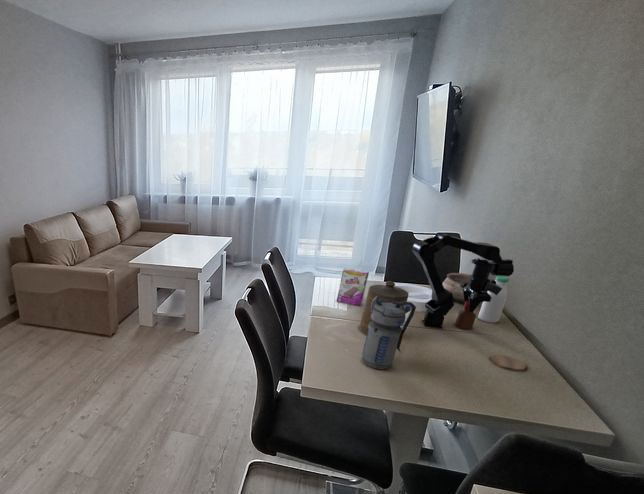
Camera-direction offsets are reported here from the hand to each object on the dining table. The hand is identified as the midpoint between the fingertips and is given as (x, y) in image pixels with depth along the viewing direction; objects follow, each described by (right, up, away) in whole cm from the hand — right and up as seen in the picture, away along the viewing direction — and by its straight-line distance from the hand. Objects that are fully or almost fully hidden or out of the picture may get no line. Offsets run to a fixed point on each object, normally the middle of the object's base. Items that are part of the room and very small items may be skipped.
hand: (468, 309), depth 176 cm
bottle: (0, -7, +3) cm, 8 cm away
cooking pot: (+18, +5, +32) cm, 37 cm away
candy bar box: (-40, +4, +26) cm, 48 cm away
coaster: (-4, -20, -26) cm, 33 cm away
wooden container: (-40, -9, -3) cm, 42 cm away
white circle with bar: (-9, +5, +31) cm, 32 cm away
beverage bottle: (-53, -20, -29) cm, 63 cm away
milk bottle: (+16, -4, +11) cm, 20 cm away
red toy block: (0, 0, 0) cm, 0 cm away
